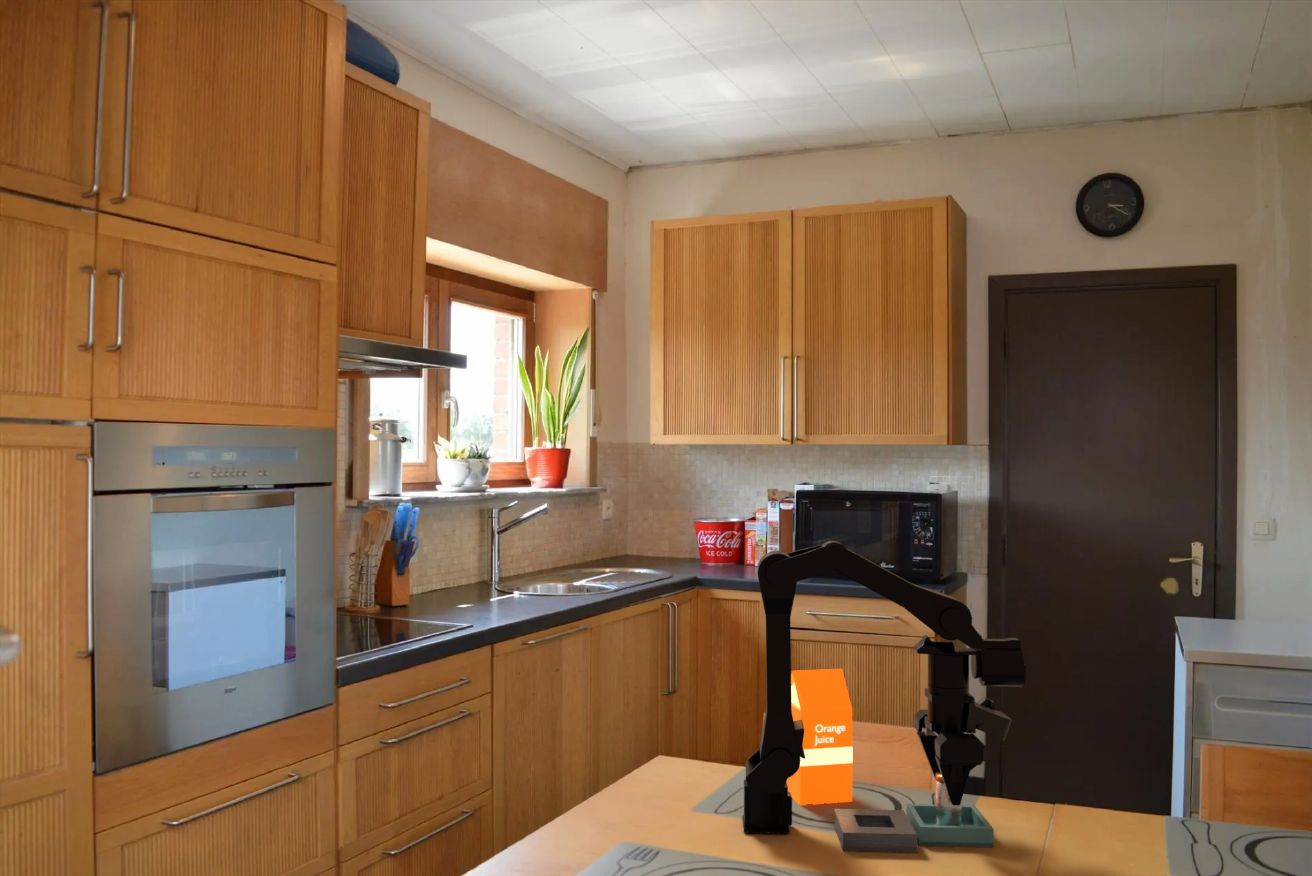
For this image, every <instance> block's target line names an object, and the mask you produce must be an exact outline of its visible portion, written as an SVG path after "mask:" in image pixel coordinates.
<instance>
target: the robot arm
mask: <svg viewBox="0 0 1312 876" xmlns="http://www.w3.org/2000/svg"><path fill="white" fill-rule="evenodd" d="M831 571H836V572H837V573H839V574H841V575H843V576H845V577H846V578H848V579H850V580H852V581H853V582H856V583H857V584H859V585H861V586H863V587H865V588H866V589H869V590H871V591H872V592H874V593H875V594H878V595H879V596H882V597H884V598H885V599H887V600H889V601H891V602H893V603H894V604H897V605H898V606H900V607H902V608H904V609H905V611H908V613H910V614H911V615H913V617H915V618H916V619H918V621H920V622H921V623H922V624H924V625H925V626H926V627H927V628H929V629H930V630H932V632H934V633H935V634H936V635H938V636H939V637H940V638H941V639H944V640H945V641H944V640H932V639H931V638H930V637H929V636H928V635H927V634H924V635H923V637H922V638H921V639H920V641H918V642H917V643H916V644H914V645H913V647H912V648H913V649H914V650H915V652H916V653H917V654H919V655H927V687H924V696H925V697H926V698H927V709H919V710H918V711H917V712H916V713H915V714H914V723H913V724H914V729H915V730H916V731H917V732H916V735H917V737H918V739H919V742H920V744H921V747H922V749H923V753H924V754H925V756H926V759H927V762H928V765H929V767H930V770H931V771H932V774H933V777H934V779H935V781H936V773H937V772H941V775H942V778H943V781H944V784H945V787H946V790H947V792H948V795H949V798H950V801H951V804H952V805H960V804H961V800H962V799H963V797H964V792H965V790H966V787H967V782H968V779H969V775H970V773H971V771H972V770H973V769H975V768H976V767H977V766H981V765H982V764H983V763H984V762H986V761H987V746H986V745H985V744H984V743H983V742H982V740H980V739H979V737H977V735H975V734H976V732H977V731H976V730H978V731H980V732H983V733H985V734H989V735H991V736H994V737H995V738H996V739H998V740H999V741H1005V739H1006V737H1007V734H1008V732H1009V730H1010V729H1009V728H1010V726H1011V723H1012V719H1011V717H1009V716H1008V715H1007V714H1005V713H1003V712H1002V711H1000V710H997V709H996V708H997V707H996V703H995V702H994V701H993V700H992V699H990V698H986V697H984V696H982V697H981V698H980V699H979V700H978V701H977V702H976V700H975V697H974V696H973V695H972V694H971V693H970V670H971V676H972V679H974V680H975V679H976V680H977V679H978V681H979V684H980V686H981V687H1006V688H1007V687H1011V688H1014V687H1016V688H1022V687H1024V686H1025V683H1026V679H1027V665H1026V664H1025V658H1024V653H1023V650H1022V641H1021V640H1020V639H1019V638H1017V637H1007V638H1005V637H1004V638H983V635H982V634H980V633H979V631H977V630H976V628H975V626H974V625H973V616H972V613H971V610H970V607H968V606H967V605H966V604H965V603H963V601H960V600H958V598H955V597H954V596H952V595H949V594H946V593H943V592H940V591H937V590H934V589H931V588H926V587H924V586H920V585H917V584H914V583H911V582H910V581H909V580H906V579H905V578H902V577H901V576H900V575H897V574H895V573H894V572H891V571H890V570H888V569H886V568H884V567H882V566H880V565H878V564H876V563H875V562H873V561H871V560H869V559H867V558H866V557H864V556H861V555H860V554H858V553H856V552H855V551H852V550H850V549H849V548H847V547H846V546H844V544H843V543H841V542H839V541H836V540H829V541H825V542H824V543H822V544H819V545H816V546H811V547H807V548H803V549H797V550H795V551H791V552H785V551H782V550H771V551H769V552H766V553H765V554H764V555H763V556H761V558H760V559H759V561H758V563H757V578H758V579H757V580H758V584H759V589H760V593H761V600H762V605H763V609H764V614H765V664H766V665H765V666H766V667H765V669H766V670H765V673H766V676H765V677H766V709H765V714H764V719H763V723H762V730H761V736H760V743H759V748H758V749H757V750H755V752H754V753H753V754H752V755H751V756H750V757H748V759H746V761H745V779H743V815H742V818H741V819H742V829H743V833H747V834H784V835H785V834H786V835H787V834H790V827H791V826H792V825H793V799H792V796H791V793H790V792H789V791H788V785H787V779H788V778H789V777H791V776H793V775H794V774H795V773H796V772H797V771H798V769H799V767H800V757H802V758H803V759H805V753H804V748H803V738H804V726H803V721H802V720H796V721H793V716H792V702H791V674H792V646H791V645H792V644H791V643H792V641H791V640H792V638H791V615H792V611H793V606H794V601H795V596H796V590H797V583H798V582H801V581H804V580H807V579H811V578H814V577H816V576H819V575H822V574H824V573H826V572H831ZM946 640H947V641H946ZM956 640H958V641H960V642H961V643H963V644H964V645H966V646H967V647H957V646H955V645H954V642H953V641H956ZM962 801H963V800H962Z"/></svg>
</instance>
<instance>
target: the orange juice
mask: <svg viewBox="0 0 1312 876" xmlns="http://www.w3.org/2000/svg"><path fill="white" fill-rule="evenodd" d="M846 682H847V681H846V679H845V676H844V671H843V668H826V669H825V668H824V669H801V670H799V669H798V670H791V702H792V716H793V721H796V720H802V721H803V726H804V738H803V748H804V753H805V759H803V758H802V757H800V767H799V769H798V771H797V772H796V773H795V774H794V775H793V776H791V777H789V778H788V779H787V785H788V791H789V792H790V793H791V796H792V798H793V799H794V800H795V801H794V800H793V799H792V800H793V801H794V802H795V803H797V804H798V805H799V804H800V805H799V806H808V805H807V804H813V805H822V804H824V803H826V804H837V803H838V802H839V803H849V802H850V803H851V802H853V762H854V760H853V759H854V757H853V756H854V755H853V754H854V753H853V706H852V703H851V700H850V694H849V691H848V686H847V683H846ZM826 804H825V805H826Z"/></svg>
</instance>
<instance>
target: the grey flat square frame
mask: <svg viewBox="0 0 1312 876" xmlns="http://www.w3.org/2000/svg"><path fill="white" fill-rule="evenodd" d="M833 826H834V829H835V833H836V836H837V838H838V841H839V844H840V847H841V849H842V852H865V853H866V852H867V853H900V854H901V853H904V854H918V840H917V833H916V831H915V830H914V828H913V826H912V824H911V823H910V821H909V819H908V817H907V813H906V812H905V811H904V810H903V809H902V810H900V809H898V810H897V809H863V808H861V809H857V808H854V809H853V808H833Z"/></svg>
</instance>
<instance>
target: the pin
mask: <svg viewBox="0 0 1312 876" xmlns="http://www.w3.org/2000/svg"><path fill="white" fill-rule="evenodd" d="M962 801H963V800H961V804H960V805H952V804H951V801H950V798H949V795H948V792H947V790H946V787H945V784H944V781H943V778H942V775H941V772H937V773H936V780H935V805H936V810H935V825H938V826H962V805H963V804H962V803H963V802H962Z"/></svg>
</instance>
